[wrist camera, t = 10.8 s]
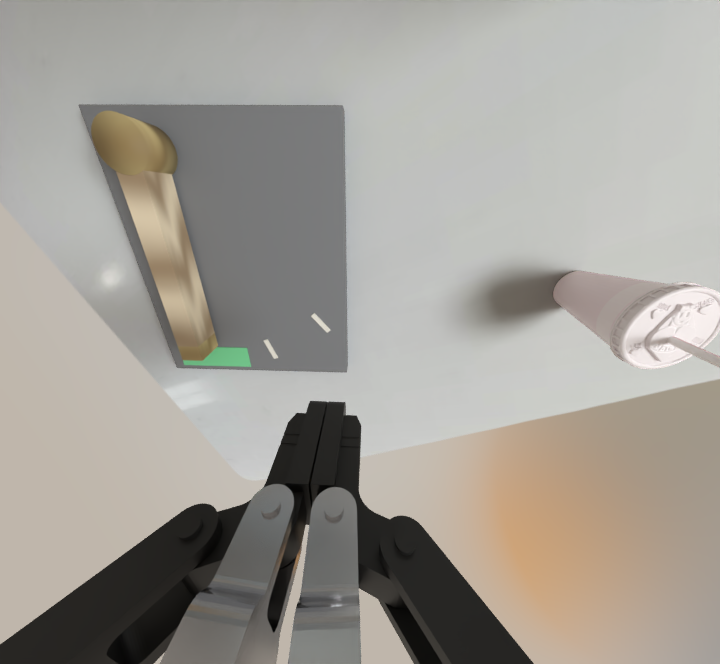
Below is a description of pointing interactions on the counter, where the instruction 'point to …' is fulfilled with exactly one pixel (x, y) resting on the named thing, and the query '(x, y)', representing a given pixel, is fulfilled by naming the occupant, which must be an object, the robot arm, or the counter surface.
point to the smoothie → (644, 316)
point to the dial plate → (257, 229)
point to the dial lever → (158, 223)
